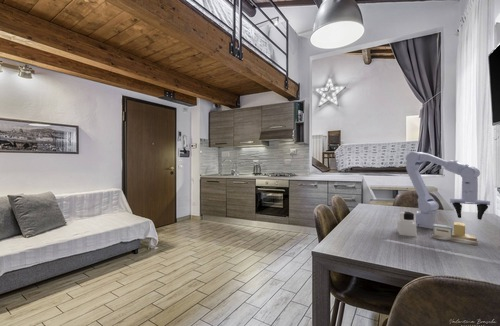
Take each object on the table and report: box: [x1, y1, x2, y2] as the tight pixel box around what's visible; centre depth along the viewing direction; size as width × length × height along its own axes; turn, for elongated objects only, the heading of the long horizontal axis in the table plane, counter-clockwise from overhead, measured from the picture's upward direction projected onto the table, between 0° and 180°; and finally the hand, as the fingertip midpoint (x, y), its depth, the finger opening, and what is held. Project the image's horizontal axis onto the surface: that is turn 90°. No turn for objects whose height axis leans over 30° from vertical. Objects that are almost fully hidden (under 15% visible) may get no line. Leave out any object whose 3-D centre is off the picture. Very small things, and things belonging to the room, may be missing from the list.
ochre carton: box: [453, 221, 466, 237], centre depth 116 cm, size 7×4×6 cm, turn 138°
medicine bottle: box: [396, 211, 417, 237], centre depth 118 cm, size 7×7×12 cm
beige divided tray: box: [431, 231, 479, 246], centre depth 114 cm, size 16×18×2 cm
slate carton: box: [432, 224, 453, 238], centre depth 113 cm, size 7×4×6 cm, turn 48°
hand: (469, 218), depth 115 cm, fingers open, 7 cm apart
